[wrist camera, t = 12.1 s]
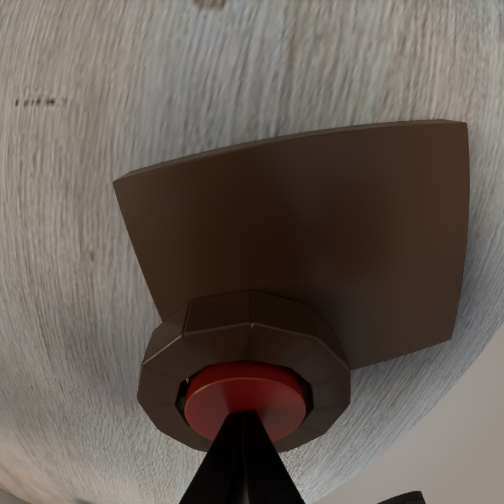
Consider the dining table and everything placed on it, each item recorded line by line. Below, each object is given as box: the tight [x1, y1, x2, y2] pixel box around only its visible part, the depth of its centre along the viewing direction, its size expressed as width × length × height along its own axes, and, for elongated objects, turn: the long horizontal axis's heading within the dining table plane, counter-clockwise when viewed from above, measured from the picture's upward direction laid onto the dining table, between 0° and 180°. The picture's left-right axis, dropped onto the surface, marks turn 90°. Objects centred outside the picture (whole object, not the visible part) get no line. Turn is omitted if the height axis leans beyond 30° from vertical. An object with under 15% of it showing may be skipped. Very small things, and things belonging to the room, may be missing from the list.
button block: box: [113, 119, 470, 453], centre depth 9 cm, size 11×10×3 cm
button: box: [184, 359, 306, 442], centre depth 9 cm, size 4×4×2 cm
